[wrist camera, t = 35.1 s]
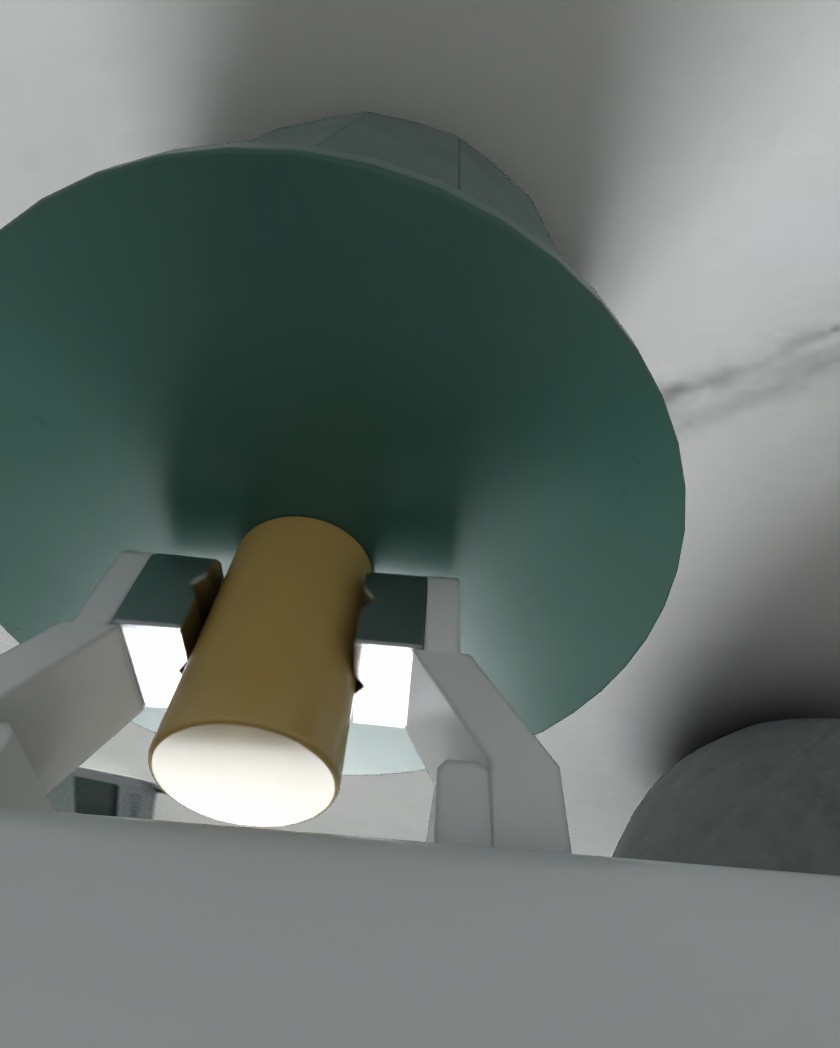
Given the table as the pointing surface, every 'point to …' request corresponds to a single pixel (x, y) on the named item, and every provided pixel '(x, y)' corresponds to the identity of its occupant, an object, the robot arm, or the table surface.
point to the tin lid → (323, 447)
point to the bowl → (748, 802)
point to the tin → (419, 159)
